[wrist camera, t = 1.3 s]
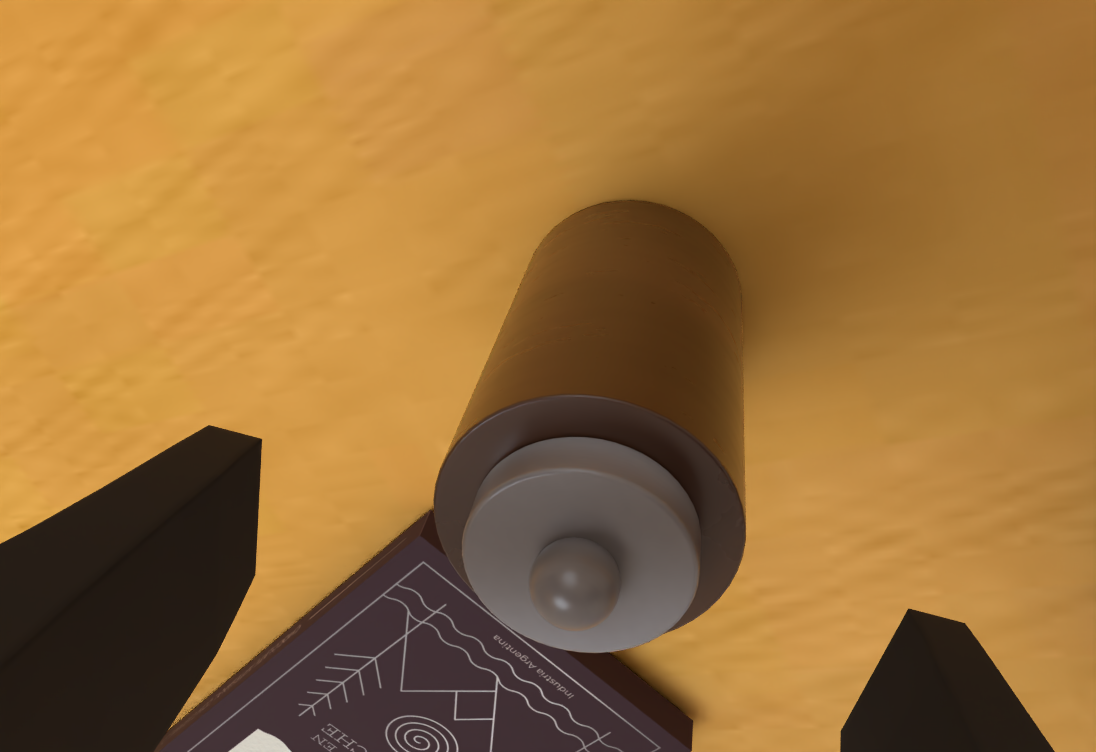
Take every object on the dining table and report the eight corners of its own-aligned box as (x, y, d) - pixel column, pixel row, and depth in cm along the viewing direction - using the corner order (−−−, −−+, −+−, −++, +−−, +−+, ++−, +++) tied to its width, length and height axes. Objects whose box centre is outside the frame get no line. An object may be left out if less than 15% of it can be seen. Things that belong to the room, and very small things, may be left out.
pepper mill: (771, 361, 20) (795, 705, 12) (575, 419, 21) (490, 758, 14) (696, 166, 18) (670, 429, 11) (488, 243, 20) (335, 524, 12)
